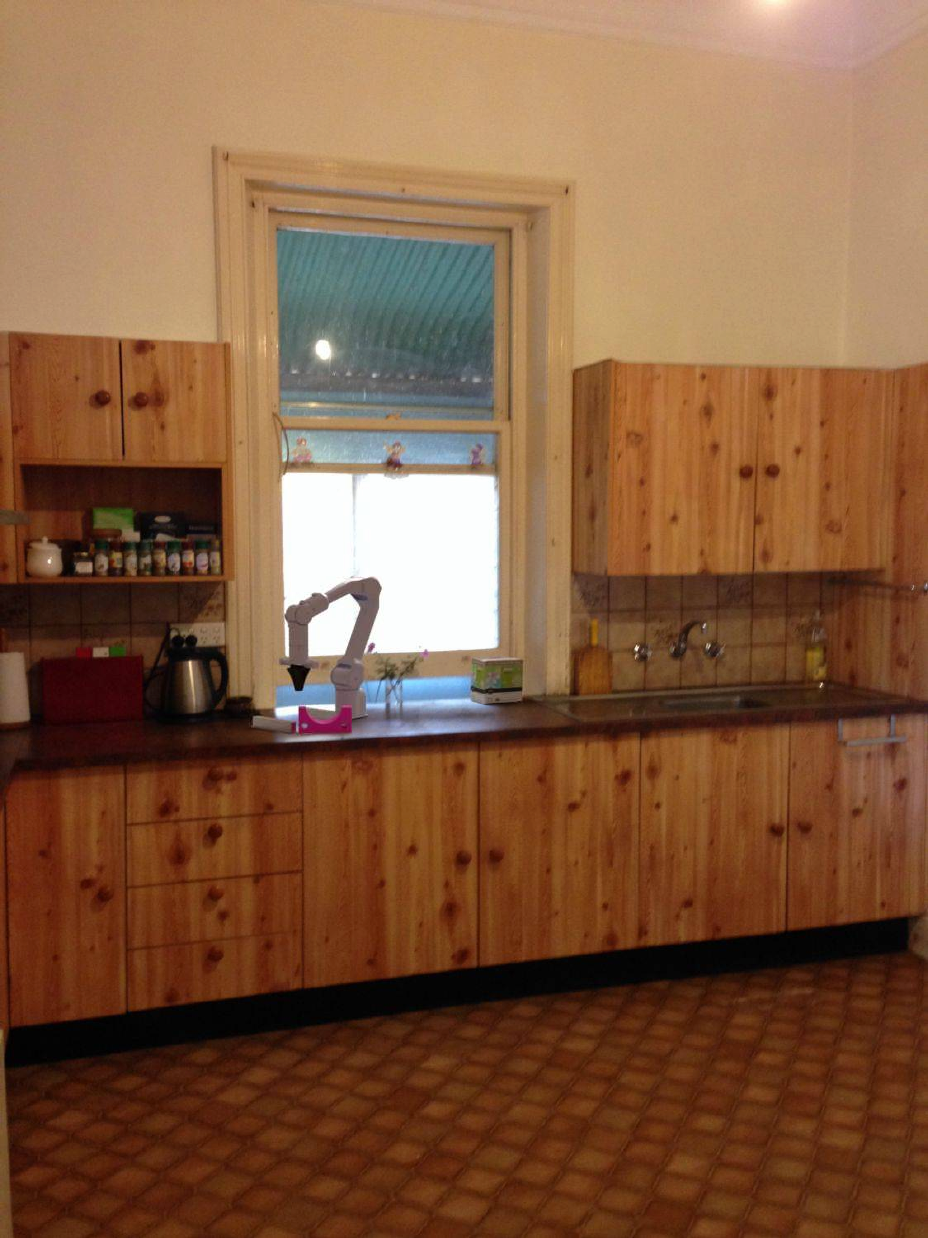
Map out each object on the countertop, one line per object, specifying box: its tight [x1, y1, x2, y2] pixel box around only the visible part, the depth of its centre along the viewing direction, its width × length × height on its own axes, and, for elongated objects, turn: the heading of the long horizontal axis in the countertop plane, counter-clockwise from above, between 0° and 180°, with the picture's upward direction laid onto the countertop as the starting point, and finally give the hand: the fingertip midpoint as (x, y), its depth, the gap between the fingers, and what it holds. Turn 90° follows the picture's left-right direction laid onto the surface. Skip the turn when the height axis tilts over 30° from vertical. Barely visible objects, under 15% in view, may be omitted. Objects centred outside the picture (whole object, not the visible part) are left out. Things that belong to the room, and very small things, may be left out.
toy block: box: [297, 705, 353, 735], centre depth 311 cm, size 15×6×8 cm, turn 98°
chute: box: [250, 706, 346, 734], centre depth 321 cm, size 24×16×3 cm
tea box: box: [470, 656, 524, 705], centre depth 366 cm, size 15×10×15 cm, turn 119°
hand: (298, 690), depth 321 cm, fingers closed
